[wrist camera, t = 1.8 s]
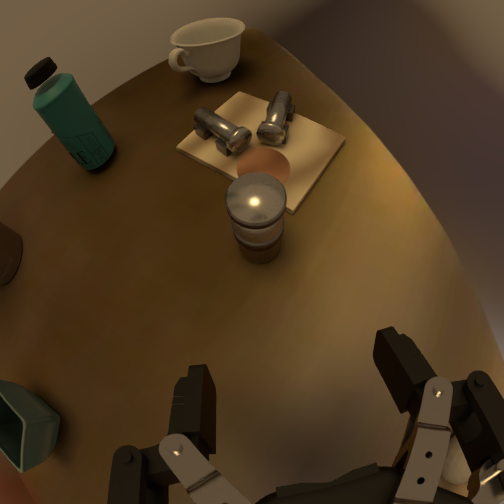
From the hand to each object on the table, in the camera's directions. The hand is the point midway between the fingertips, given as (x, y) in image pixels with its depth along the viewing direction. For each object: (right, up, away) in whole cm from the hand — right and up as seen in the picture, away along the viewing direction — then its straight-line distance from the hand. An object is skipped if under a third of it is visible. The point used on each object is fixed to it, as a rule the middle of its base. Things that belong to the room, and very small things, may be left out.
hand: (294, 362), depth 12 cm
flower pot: (-29, -17, +12) cm, 36 cm away
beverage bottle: (-25, +19, +25) cm, 40 cm away
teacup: (-9, +35, +29) cm, 47 cm away
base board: (-1, +19, +23) cm, 30 cm away
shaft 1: (-6, +20, +22) cm, 31 cm away
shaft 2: (+1, +22, +23) cm, 32 cm away
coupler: (-1, +6, +18) cm, 19 cm away
